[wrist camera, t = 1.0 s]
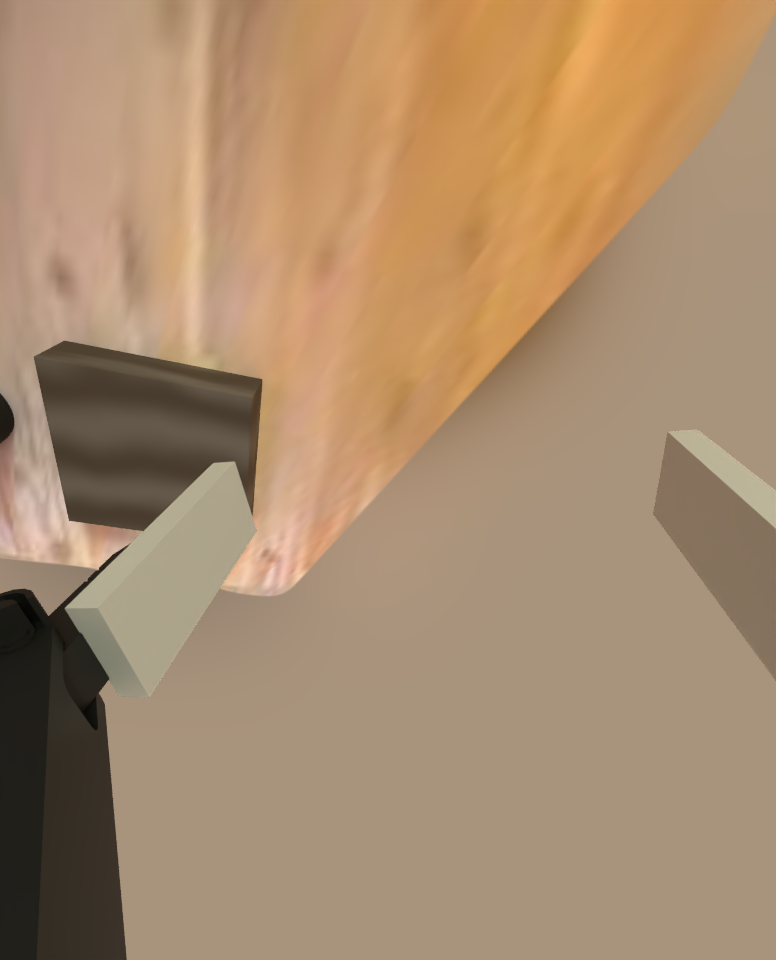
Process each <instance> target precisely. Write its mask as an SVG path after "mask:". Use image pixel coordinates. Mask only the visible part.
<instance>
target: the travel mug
mask: <svg viewBox="0 0 776 960" xmlns="http://www.w3.org/2000/svg"><path fill="white" fill-rule="evenodd" d="M13 427H14V417H13V413H12V410H11V408H10V406H9V405H8V403H7V401H6V400H5V399H4V397H3V396H2V395H1V394H0V443H1V442H2V441H4V440H5V439H6V438H7V437H8V436H9V435H10V433H11V432H12V430H13Z"/></svg>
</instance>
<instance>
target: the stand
mask: <svg viewBox="0 0 776 960" xmlns="http://www.w3.org/2000/svg"><path fill="white" fill-rule="evenodd" d="M34 360H35V365H36V369H37V374H38V379H39V383H40V388H41V393H42V397H43V402H44V406H45V411H46V416H47V420H48V425H49V430H50V434H51V439H52V444H53V448H54V453H55V457H56V462H57V467H58V471H59V476H60V481H61V485H62V490H63V494H64V499H65V504H66V508H67V513H68V518H69V521H76V522H83V523H90V524H97V525H104V526H111V527H118V528H125V529H132V530H139V531H144V530H145V529H146V528H147V527H148V526H149V525H150V524H151V523H152V522H153V521H154V520H155V519H157V518H158V517H159V516H160V515H161V514H162V513H163V512H164V511H165V510H166V509H167V508H168V507H169V506H170V505H171V504H172V503H173V502H174V501H175V500H176V499H177V498H178V497H179V496H180V495H181V494H182V493H183V492H184V491H185V490H186V489H187V488H188V487H189V486H190V485H191V484H192V483H193V482H194V481H195V480H196V479H197V478H198V477H200V476H201V475H202V474H203V473H204V472H205V471H206V470H207V469H208V468H209V467H210V466H211V465H212V464H213V463H220V462H234V461H235V464H236V467H237V470H238V473H239V476H240V479H241V482H242V486H243V489H244V492H245V495H246V498H247V501H248V504H249V507H250V511H251V514H252V515H253V502H254V488H255V474H256V460H257V447H258V433H259V419H260V405H261V392H262V379H257V378H252V377H247V376H242V375H237V374H232V373H226V372H221V371H216V370H211V369H206V368H201V367H196V366H191V365H186V364H180V363H175V362H170V361H165V360H160V359H155V358H150V357H145V356H139V355H134V354H129V353H124V352H119V351H114V350H109V349H104V348H99V347H93V346H88V345H83V344H78V343H73V342H68V341H63V342H61V343H59V344H57V345H55V346H53V347H52V348H50V349H48V350H46V351H44V352H42V353H40V354H38V355H36V356H34Z"/></svg>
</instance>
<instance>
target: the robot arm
mask: <svg viewBox="0 0 776 960" xmlns="http://www.w3.org/2000/svg"><path fill="white" fill-rule="evenodd" d="M653 514H654V516H655V517H656V518H657V520H658V521H659V522H660V524H661V525H662V527H663V528H664V529H665V531H666V532H667V534H668V535H669V536H670V537H671V539H672V540H673V542H674V543H675V544H676V546H677V547H678V548H679V550H680V551H681V552H682V554H683V555H684V557H685V558H686V559H687V561H688V562H689V563H690V565H691V566H692V567H693V569H694V570H695V572H696V573H697V574H698V576H699V577H700V578H701V580H702V581H703V582H704V584H705V585H706V586H707V588H708V589H709V591H710V592H711V593H712V594H713V596H714V597H715V598H716V600H717V601H718V603H719V604H720V605H721V607H722V608H723V609H724V611H725V612H726V613H727V615H728V616H729V618H730V619H731V621H732V622H733V623H734V625H735V626H736V627H737V629H738V630H739V631H740V633H741V634H742V635H743V637H744V638H745V639H746V641H747V642H748V644H749V645H750V646H751V648H752V649H753V650H754V652H755V653H756V654H757V656H758V657H759V659H760V660H761V661H762V663H763V664H764V665H765V667H766V668H767V669H768V670H769V672H770V673H771V675H772V676H773V678H774V679H775V680H776V491H775V490H774V489H773V488H771V487H770V486H769V485H768V484H766V483H765V482H764V481H762V480H761V479H760V478H759V477H757V476H756V475H755V474H753V473H752V472H751V471H749V470H748V469H747V468H746V467H744V466H743V465H742V464H741V463H739V462H738V461H737V460H736V459H734V458H733V457H732V456H730V455H729V454H728V453H727V452H725V451H724V450H723V449H722V448H720V447H719V446H718V445H716V444H715V443H714V442H713V441H711V440H710V439H709V438H707V437H706V436H705V435H704V434H702V433H701V432H700V431H699V430H686V431H672V432H668V433H667V438H666V444H665V449H664V455H663V461H662V467H661V473H660V478H659V484H658V490H657V495H656V501H655V506H654V512H653ZM256 531H257V529H256V526H255V523H254V520H253V517H252V514H251V511H250V507H249V504H248V501H247V498H246V495H245V492H244V489H243V486H242V482H241V479H240V476H239V473H238V470H237V467H236V464H235V461H234V462H220V463H213V464H212V465H211V466H210V467H209V468H208V469H207V470H206V471H205V472H204V473H203V474H202V475H201V476H200V477H198V478H197V479H196V480H195V481H194V482H193V483H192V484H191V485H190V486H189V487H188V488H187V489H186V490H185V491H184V492H183V493H182V494H181V495H180V496H179V497H178V498H177V499H176V500H175V501H174V502H173V503H172V504H171V505H170V506H169V507H168V508H167V509H166V510H165V511H164V512H163V513H162V514H161V515H160V516H159V517H158V518H157V519H155V520H154V521H153V522H152V523H151V524H150V525H149V526H148V527H147V528H146V529H145V530H144V531H143V532H142V533H141V534H140V535H139V536H138V537H137V538H136V539H135V540H134V541H133V542H132V543H131V544H129V545H127V546H126V547H124V548H123V549H121V550H120V551H118V552H116V553H115V554H113V555H112V556H111V557H110V558H109V559H108V560H107V561H106V562H105V563H104V564H103V565H102V566H101V567H100V568H99V571H95V572H94V573H93V574H92V575H91V576H90V577H89V578H88V581H87V582H84V583H83V584H82V585H81V586H80V587H79V588H78V589H77V590H76V591H75V592H73V593H72V594H71V595H70V596H69V597H68V598H67V599H66V600H65V601H64V602H63V603H62V604H61V605H60V606H59V607H58V608H57V609H56V610H55V611H54V612H53V613H52V614H51V615H49V616H48V615H47V613H46V612H45V610H44V609H43V607H42V606H41V604H40V603H39V601H38V600H37V598H36V597H35V595H34V594H33V592H32V591H31V590H27V589H17V590H11V591H8V592H4V593H1V594H0V960H126V947H125V936H124V924H123V913H122V901H121V890H120V878H119V866H118V854H117V842H116V831H115V820H114V809H113V797H112V784H111V773H110V761H109V750H108V738H107V726H106V715H105V704H104V702H103V700H102V698H101V696H100V695H99V692H100V690H101V689H102V687H103V686H104V685H105V684H106V682H107V681H108V680H109V681H110V682H111V684H112V685H113V687H114V688H115V690H116V692H117V693H118V695H119V697H147V698H148V697H150V695H151V694H152V693H153V691H154V689H155V688H156V686H157V685H158V683H159V682H160V680H161V679H162V677H163V675H164V674H165V672H166V671H167V669H168V668H169V666H170V664H171V663H172V661H173V660H174V658H175V657H176V655H177V654H178V652H179V651H180V649H181V648H182V646H183V644H184V643H185V641H186V640H187V638H188V636H189V635H190V634H191V632H192V630H193V629H194V627H195V626H196V624H197V623H198V621H199V620H200V618H201V616H202V615H203V613H204V612H205V610H206V609H207V607H208V606H209V604H210V602H211V601H212V599H213V598H214V596H215V595H216V593H217V591H218V590H219V588H220V587H221V585H222V584H223V582H224V581H225V579H226V578H227V576H228V574H229V573H230V571H231V570H232V568H233V567H234V565H235V564H236V562H237V561H238V559H239V557H240V556H241V554H242V553H243V551H244V550H245V548H246V547H247V545H248V543H249V542H250V540H251V539H252V537H253V536H254V534H255V533H256Z"/></svg>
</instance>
